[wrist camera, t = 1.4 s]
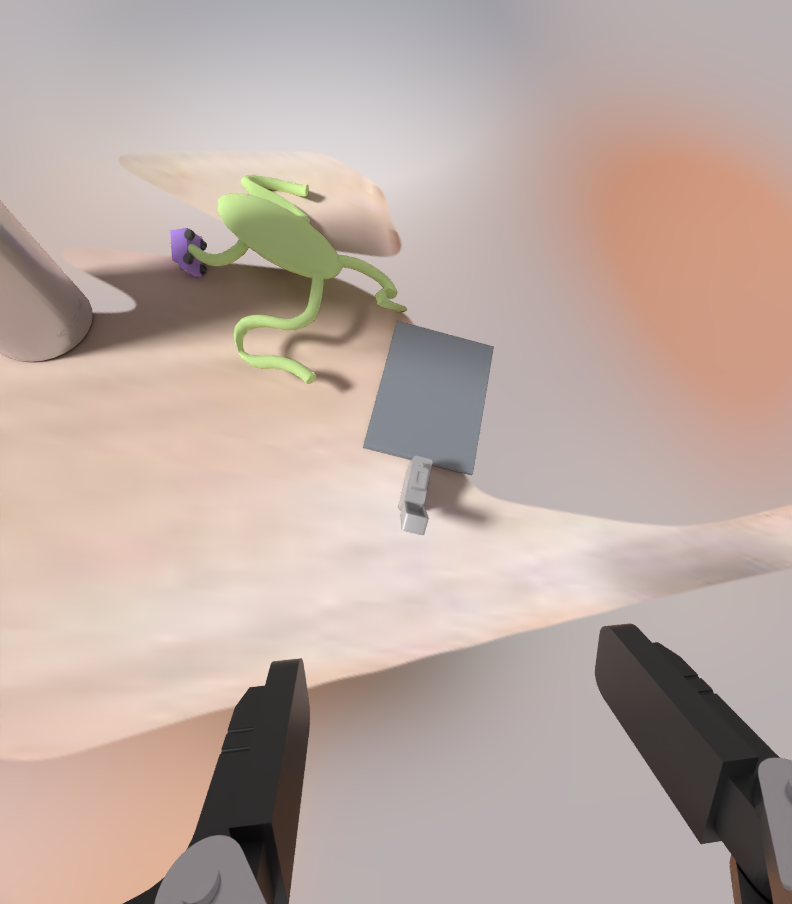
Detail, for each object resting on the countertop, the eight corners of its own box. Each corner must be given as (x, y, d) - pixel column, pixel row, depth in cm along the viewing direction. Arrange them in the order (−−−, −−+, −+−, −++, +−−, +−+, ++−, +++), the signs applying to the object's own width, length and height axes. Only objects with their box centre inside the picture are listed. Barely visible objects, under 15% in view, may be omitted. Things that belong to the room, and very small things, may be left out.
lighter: (406, 468, 39) (421, 440, 32) (423, 472, 39) (442, 445, 32) (390, 540, 37) (402, 529, 29) (409, 545, 37) (425, 534, 29)
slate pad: (363, 447, 39) (363, 446, 39) (396, 323, 44) (397, 320, 44) (471, 475, 40) (472, 474, 39) (492, 349, 45) (493, 346, 44)
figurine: (278, 419, 40) (269, 393, 34) (146, 234, 44) (119, 187, 39) (423, 332, 45) (433, 299, 40) (290, 176, 50) (283, 127, 44)
